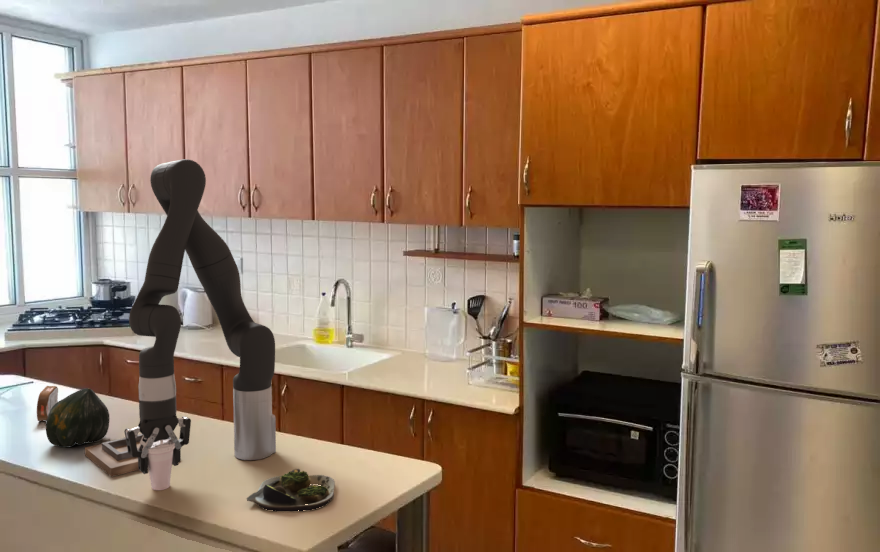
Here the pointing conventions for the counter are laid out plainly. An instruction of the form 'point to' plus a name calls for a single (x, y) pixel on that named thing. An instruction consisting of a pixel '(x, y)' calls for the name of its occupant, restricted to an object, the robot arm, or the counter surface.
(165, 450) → the smoothie
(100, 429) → the squash
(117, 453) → the base board
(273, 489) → the salad plate
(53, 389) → the tin
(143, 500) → the counter surface
